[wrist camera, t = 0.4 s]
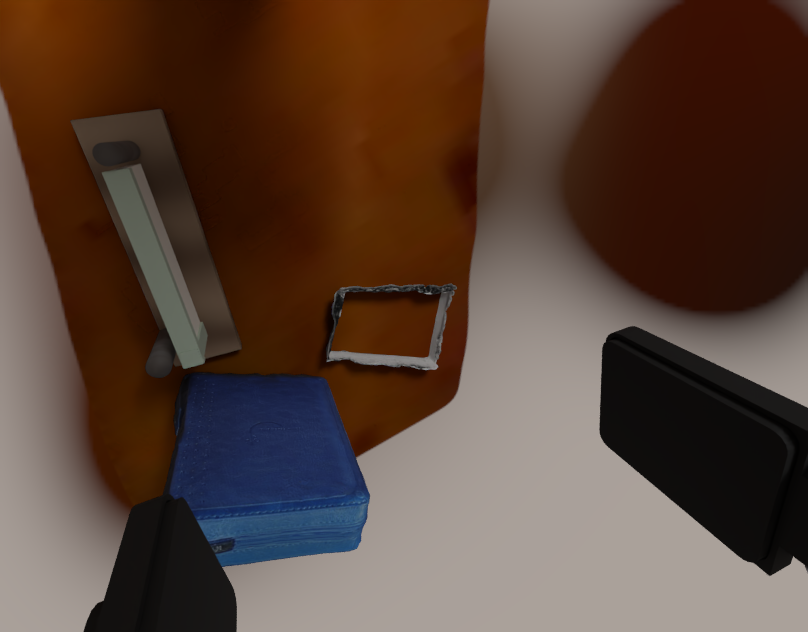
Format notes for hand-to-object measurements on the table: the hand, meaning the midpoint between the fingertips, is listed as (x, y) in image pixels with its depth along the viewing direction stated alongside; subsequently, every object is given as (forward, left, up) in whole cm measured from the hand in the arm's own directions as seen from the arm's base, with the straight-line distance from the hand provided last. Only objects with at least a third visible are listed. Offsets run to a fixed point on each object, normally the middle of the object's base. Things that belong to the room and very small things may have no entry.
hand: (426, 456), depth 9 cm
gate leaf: (+2, -10, -33) cm, 34 cm away
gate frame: (+1, -10, -35) cm, 36 cm away
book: (+17, -7, -35) cm, 39 cm away
